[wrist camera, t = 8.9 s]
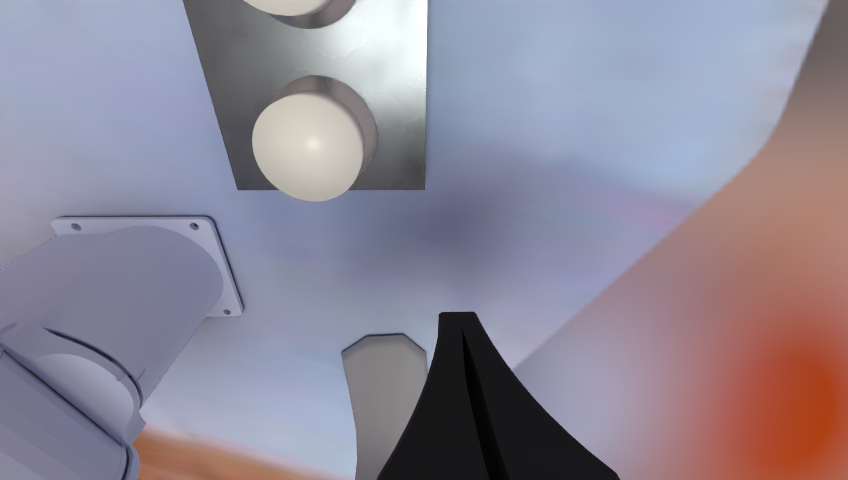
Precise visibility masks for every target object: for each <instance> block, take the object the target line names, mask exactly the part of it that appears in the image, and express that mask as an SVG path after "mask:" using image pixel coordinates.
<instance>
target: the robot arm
mask: <svg viewBox="0 0 848 480" xmlns="http://www.w3.org/2000/svg"><path fill="white" fill-rule="evenodd" d="M193 223H196V224H197V225H198V226H199V227H196V226H195V225H194V224H193ZM50 225H51V227H52V229H53V230H54V232H55V234H56V235H57V236H55V237H54V238H52V239H50V240H48V241H47V242H45V243H43V244H42V245H40V246H38V247H36V248H35V249H33V250H31V251H29V252H28V253H26V254H24V255H23V256H21V257H19V258H17V259H16V260H14V261H12V262H11V263H9V264H7V265H5V266H4V267H2V268H0V480H137V478H138V473H139V465H140V461H139V456H138V453H137V451H136V450H135V448H134V447H133V446H132V443H133V442H134V440H135V439H136V437H137V436H138V435H139V433H140V432H141V430H142V429H143V427H144V426H145V424H146V422H145V421H144V420H143V419H142V417H141V416H140V413H139V410H140V408H141V407H142V406H143V404H144V403H145V401H146V400H147V399H148V397H149V396H150V394H151V393H152V392H153V390H154V389H155V387H156V386H157V385H158V383H159V382H160V380H161V379H162V378H163V376H164V375H165V374H166V372H167V371H168V369H169V368H170V367H171V365H172V364H173V362H174V361H175V360H176V358H177V357H178V355H179V354H180V353H181V351H182V350H183V348H184V347H185V346H186V344H187V343H188V341H189V340H190V339H191V337H192V336H193V334H194V333H195V332H196V330H197V329H198V327H199V326H200V325H201V323H202V322H203V320H204V319H205V318H206V317H237V316H240V315H241V314H242V312H243V306H242V303H241V300H240V297H239V295H238V292H237V289H236V286H235V283H234V280H233V277H232V274H231V272H230V269H229V266H228V263H227V260H226V257H225V254H224V252H223V249H222V246H221V243H220V240H219V237H218V234H217V231H216V229H215V226H214V223H213V221H212V220H210V219H209V218H207V217H58V218H56V219H54V220H52V221H51V223H50ZM227 309H228V310H230V311H228V310H227ZM377 480H620V478H619V477H618V475H617V473H615V472H614V471H613V470H612V469H611V468H609V467H608V466H607V465H606V464H604V463H603V462H602V461H601V460H599V459H598V458H597V457H595V456H594V455H593V454H592V453H591V452H589V451H588V450H587V449H586V448H585V447H584V446H582V445H581V444H580V443H579V442H578V441H577V440H576V439H575V438H573V437H572V436H571V435H570V434H569V433H568V432H567V431H566V430H565V429H564V428H563V427H562V426H560V424H559V423H558V422H557V421H555V420H554V419H553V418H552V417H551V416H550V415H549V414H548V413H547V412H546V411H545V410H544V409H543V408H542V406H541V405H540V404H539V403H538V402H537V401H536V400H535V399H534V398H533V397H532V396H531V394H530V393H529V392H528V391H527V390H526V388H525V387H524V386H523V385H522V384H521V382H520V381H519V380H518V379H517V377H516V376H515V375H514V373H513V372H512V371H511V369H510V368H509V367H508V365H507V364H506V362H505V361H504V360H503V358H502V357H501V355H500V354H499V352H498V351H497V349H496V348H495V346H494V345H493V343H492V342H491V340H490V338H489V337H488V335H487V333H486V332H485V330H484V328H483V326H482V324H481V323H480V321H479V319H478V317H477V315H476V313H475V312H442V313H440V314H439V324H438V339H437V344H436V348H435V352H434V356H433V360H432V363H431V366H430V370H429V373H428V376H427V379H426V382H425V385H424V387H423V390H422V392H421V395H420V397H419V400H418V402H417V404H416V407H415V409H414V411H413V413H412V416H411V418H410V420H409V422H408V424H407V426H406V428H405V430H404V432H403V433H402V435H401V437H400V439H399V441H398V443H397V445H396V447H395V448H394V450H393V452H392V454H391V455H390V457H389V459H388V460H387V462H386V464H385V465H384V467H383V468H382V470H381V472H380V473H379V475H378V477H377Z"/></svg>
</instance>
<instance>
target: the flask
mask: <svg viewBox="0 0 848 480" xmlns="http://www.w3.org/2000/svg"><path fill="white" fill-rule="evenodd" d="M341 355H342V361H343V366H344V370H345V375H346V379H347V384H348V389H349V393H350V399H351V404H352V410H353V415H354V421H355V427H356V438H357V467H356V476H355V480H377V477H378V475H379V473H380V472H381V470H382V468H383V467H384V465H385V464H386V462H387V460H388V459H389V457H390V455H391V454H392V452H393V450H394V448H395V447H396V445H397V443H398V441H399V439H400V437H401V435H402V433H403V432H404V430H405V428H406V426H407V424H408V422H409V420H410V418H411V416H412V413H413V411H414V409H415V407H416V404H417V402H418V400H419V397H420V395H421V392H422V390H423V387H424V385H425V382H426V379H427V376H428V374H427V355H426V353H425V352H424V351H422V350H421V349H420V348H419V347H418V346H416V345H415V344H414V343H413V342H411V341H410V340H409V339H408V338H406V337H405V336H404V335H393V336H374V337H366V338H364V339H363V340H361V341H360V342H358V343H357V344H355V345H353V346H352V347H350V348H349V349H347V350H346V351H344V352H343V353H341Z"/></svg>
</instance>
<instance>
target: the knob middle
mask: <svg viewBox="0 0 848 480" xmlns="http://www.w3.org/2000/svg"><path fill="white" fill-rule="evenodd" d="M244 1H245V2H247V3H248V4H250V5H252V6H253V7H255V8H257V9H259V10H262V11H264V12H267V13H271V14H276V15H285V16H295V17H301V16H308V15H313V14H315V13H318V12H320V11H321V10H323V9H325V8H326V7H327V6H328V5H330V4H331V3H332V2H333V0H244Z"/></svg>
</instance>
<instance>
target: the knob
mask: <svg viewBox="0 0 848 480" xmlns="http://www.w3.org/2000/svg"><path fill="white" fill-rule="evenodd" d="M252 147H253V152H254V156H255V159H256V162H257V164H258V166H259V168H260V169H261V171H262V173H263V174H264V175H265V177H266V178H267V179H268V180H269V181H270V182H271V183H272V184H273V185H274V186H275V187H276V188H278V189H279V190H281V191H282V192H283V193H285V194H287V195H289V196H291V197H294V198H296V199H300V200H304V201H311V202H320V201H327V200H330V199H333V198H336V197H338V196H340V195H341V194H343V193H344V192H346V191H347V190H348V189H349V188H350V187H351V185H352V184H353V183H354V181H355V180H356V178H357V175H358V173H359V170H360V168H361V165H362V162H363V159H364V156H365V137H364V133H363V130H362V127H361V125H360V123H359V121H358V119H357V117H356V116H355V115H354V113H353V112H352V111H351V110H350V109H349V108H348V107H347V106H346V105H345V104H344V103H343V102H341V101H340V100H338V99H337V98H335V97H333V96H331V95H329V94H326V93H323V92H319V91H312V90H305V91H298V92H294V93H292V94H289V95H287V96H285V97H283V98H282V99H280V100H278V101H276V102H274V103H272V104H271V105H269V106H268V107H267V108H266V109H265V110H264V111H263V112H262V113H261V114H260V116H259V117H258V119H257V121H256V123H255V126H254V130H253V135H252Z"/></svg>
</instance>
